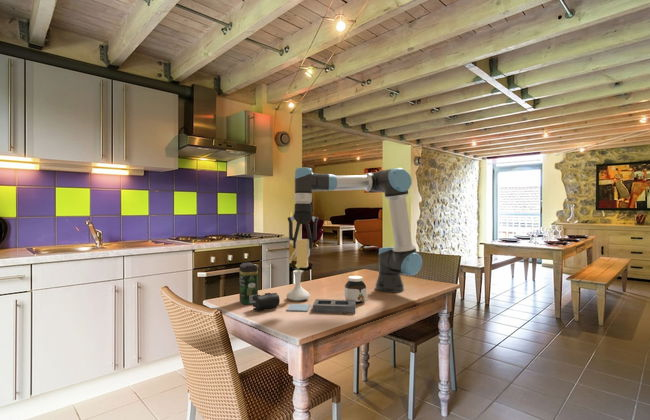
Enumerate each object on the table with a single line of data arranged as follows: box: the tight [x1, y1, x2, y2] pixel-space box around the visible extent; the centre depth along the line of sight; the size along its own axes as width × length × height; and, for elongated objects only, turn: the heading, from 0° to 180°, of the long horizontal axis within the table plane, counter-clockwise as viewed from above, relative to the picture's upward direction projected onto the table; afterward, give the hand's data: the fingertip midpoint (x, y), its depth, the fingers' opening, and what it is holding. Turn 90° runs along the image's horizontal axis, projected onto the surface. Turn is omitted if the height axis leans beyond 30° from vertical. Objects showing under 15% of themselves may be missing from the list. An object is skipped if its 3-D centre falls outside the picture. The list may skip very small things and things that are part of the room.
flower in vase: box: [285, 248, 311, 302], centre depth 168 cm, size 13×11×25 cm
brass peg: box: [296, 238, 309, 269], centre depth 153 cm, size 4×4×12 cm
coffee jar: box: [239, 261, 259, 306], centre depth 163 cm, size 10×8×19 cm
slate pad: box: [286, 303, 311, 313], centre depth 154 cm, size 9×9×1 cm
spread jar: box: [343, 275, 367, 305], centre depth 167 cm, size 12×11×12 cm
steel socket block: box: [312, 298, 357, 315], centre depth 152 cm, size 18×10×3 cm, turn 84°
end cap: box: [252, 292, 281, 313], centre depth 152 cm, size 10×7×7 cm
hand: (302, 256), depth 153 cm, fingers closed on brass peg, 4 cm apart
